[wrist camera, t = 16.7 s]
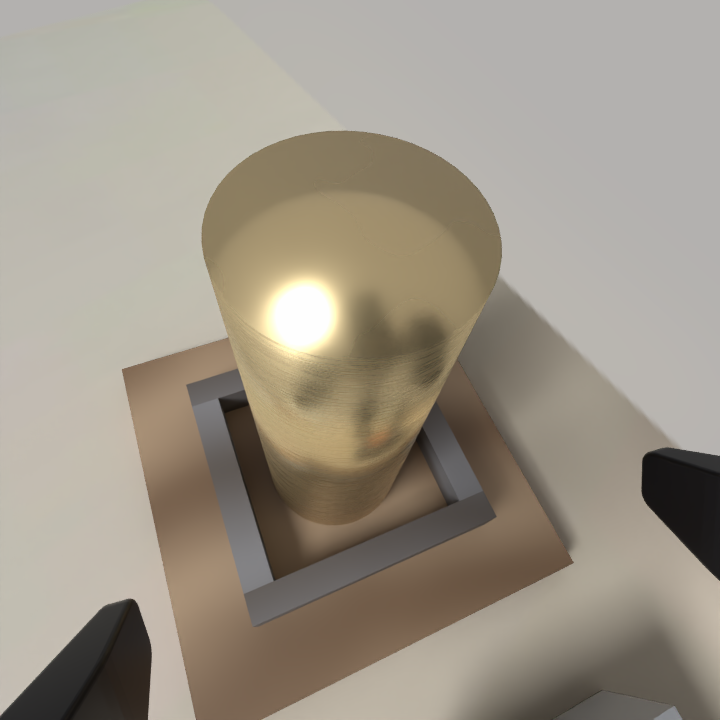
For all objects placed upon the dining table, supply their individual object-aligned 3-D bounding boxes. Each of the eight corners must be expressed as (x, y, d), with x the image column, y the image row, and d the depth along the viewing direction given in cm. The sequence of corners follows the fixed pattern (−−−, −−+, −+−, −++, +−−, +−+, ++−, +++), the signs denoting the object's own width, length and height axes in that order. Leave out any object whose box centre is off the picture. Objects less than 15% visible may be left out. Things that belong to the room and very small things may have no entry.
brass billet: (394, 530, 18) (516, 371, 7) (261, 520, 18) (167, 340, 7) (396, 409, 21) (490, 145, 9) (280, 399, 21) (233, 118, 9)
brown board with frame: (562, 565, 19) (593, 557, 17) (208, 742, 16) (190, 760, 13) (410, 295, 25) (419, 263, 23) (129, 379, 22) (108, 351, 19)
